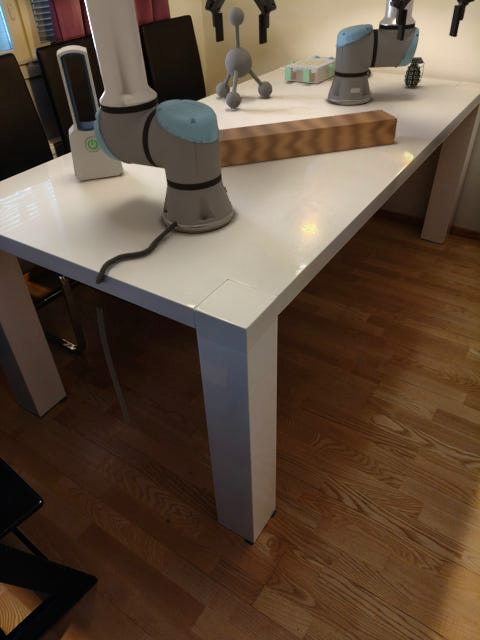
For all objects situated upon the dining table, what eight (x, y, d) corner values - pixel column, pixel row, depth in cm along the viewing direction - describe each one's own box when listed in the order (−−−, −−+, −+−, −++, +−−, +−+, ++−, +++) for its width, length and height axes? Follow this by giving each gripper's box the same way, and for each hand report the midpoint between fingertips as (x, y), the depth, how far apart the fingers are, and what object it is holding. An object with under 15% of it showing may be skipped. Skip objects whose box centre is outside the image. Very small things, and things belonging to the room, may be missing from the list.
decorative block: (306, 53, 217) (348, 56, 208) (306, 69, 221) (346, 73, 212) (276, 65, 201) (319, 68, 192) (276, 82, 205) (318, 86, 196)
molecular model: (285, 103, 178) (286, 6, 160) (229, 112, 172) (223, 12, 154) (260, 90, 196) (258, 1, 177) (208, 97, 190) (200, 6, 171)
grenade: (402, 88, 186) (407, 59, 180) (402, 85, 191) (406, 56, 185) (420, 88, 185) (425, 59, 179) (420, 85, 189) (424, 56, 183)
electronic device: (76, 181, 127) (42, 52, 109) (76, 171, 133) (43, 47, 115) (124, 174, 130) (98, 47, 111) (122, 165, 135) (97, 42, 117)
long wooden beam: (186, 171, 130) (183, 145, 125) (181, 159, 137) (178, 134, 133) (394, 143, 139) (397, 118, 135) (378, 133, 147) (381, 109, 142)
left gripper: (290, -62, 113) (289, 41, 126) (204, -57, 124) (211, 38, 137) (274, -62, 108) (275, 46, 121) (186, -56, 120) (195, 42, 133)
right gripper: (395, -68, 106) (382, 43, 119) (506, -74, 107) (481, 36, 120) (384, -67, 112) (373, 39, 125) (489, -73, 113) (467, 32, 126)
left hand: (241, 42), depth 129 cm, fingers open, 13 cm apart
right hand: (426, 38), depth 122 cm, fingers open, 13 cm apart
